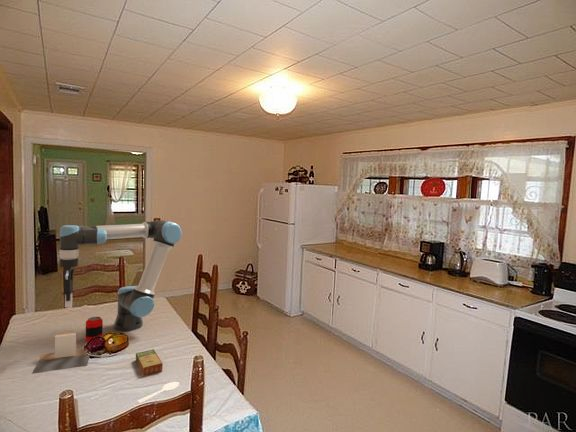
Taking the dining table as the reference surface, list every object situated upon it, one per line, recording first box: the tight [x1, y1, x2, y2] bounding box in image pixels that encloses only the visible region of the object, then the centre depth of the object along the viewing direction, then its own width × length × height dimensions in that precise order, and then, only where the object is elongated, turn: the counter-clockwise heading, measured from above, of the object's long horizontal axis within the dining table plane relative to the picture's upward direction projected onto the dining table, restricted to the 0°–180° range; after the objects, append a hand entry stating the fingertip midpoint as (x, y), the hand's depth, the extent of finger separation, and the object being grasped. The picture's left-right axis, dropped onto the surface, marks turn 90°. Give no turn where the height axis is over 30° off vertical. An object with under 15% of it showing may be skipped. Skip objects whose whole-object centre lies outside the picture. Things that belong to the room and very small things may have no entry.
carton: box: [135, 349, 163, 377], centre depth 155 cm, size 8×16×4 cm, turn 35°
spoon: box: [137, 381, 180, 404], centre depth 135 cm, size 5×18×1 cm, turn 144°
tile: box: [54, 332, 77, 358], centre depth 157 cm, size 8×2×10 cm, turn 114°
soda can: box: [85, 316, 104, 343], centre depth 176 cm, size 8×8×12 cm
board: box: [31, 348, 91, 375], centre depth 154 cm, size 20×18×1 cm
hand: (68, 306), depth 162 cm, fingers closed
